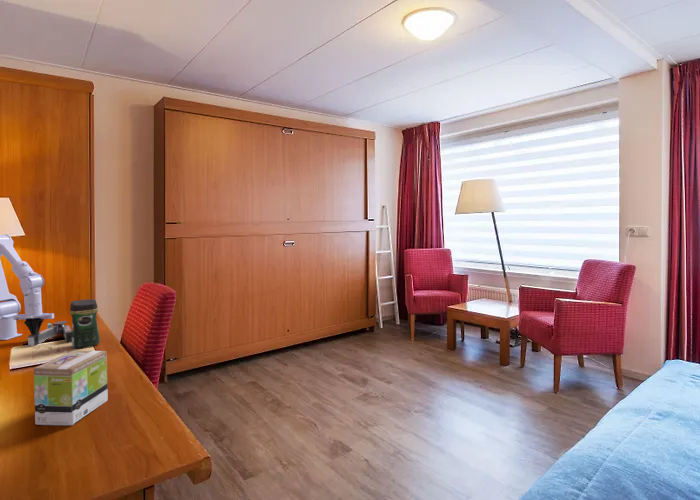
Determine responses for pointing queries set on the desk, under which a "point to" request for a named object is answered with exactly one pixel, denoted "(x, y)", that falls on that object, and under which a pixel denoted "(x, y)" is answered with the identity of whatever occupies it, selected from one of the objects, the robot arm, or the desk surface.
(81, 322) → the coffee jar
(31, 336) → the tong arm
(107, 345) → the desk surface
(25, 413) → the desk surface
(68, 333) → the tongs base
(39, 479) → the desk surface
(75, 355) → the tea box
